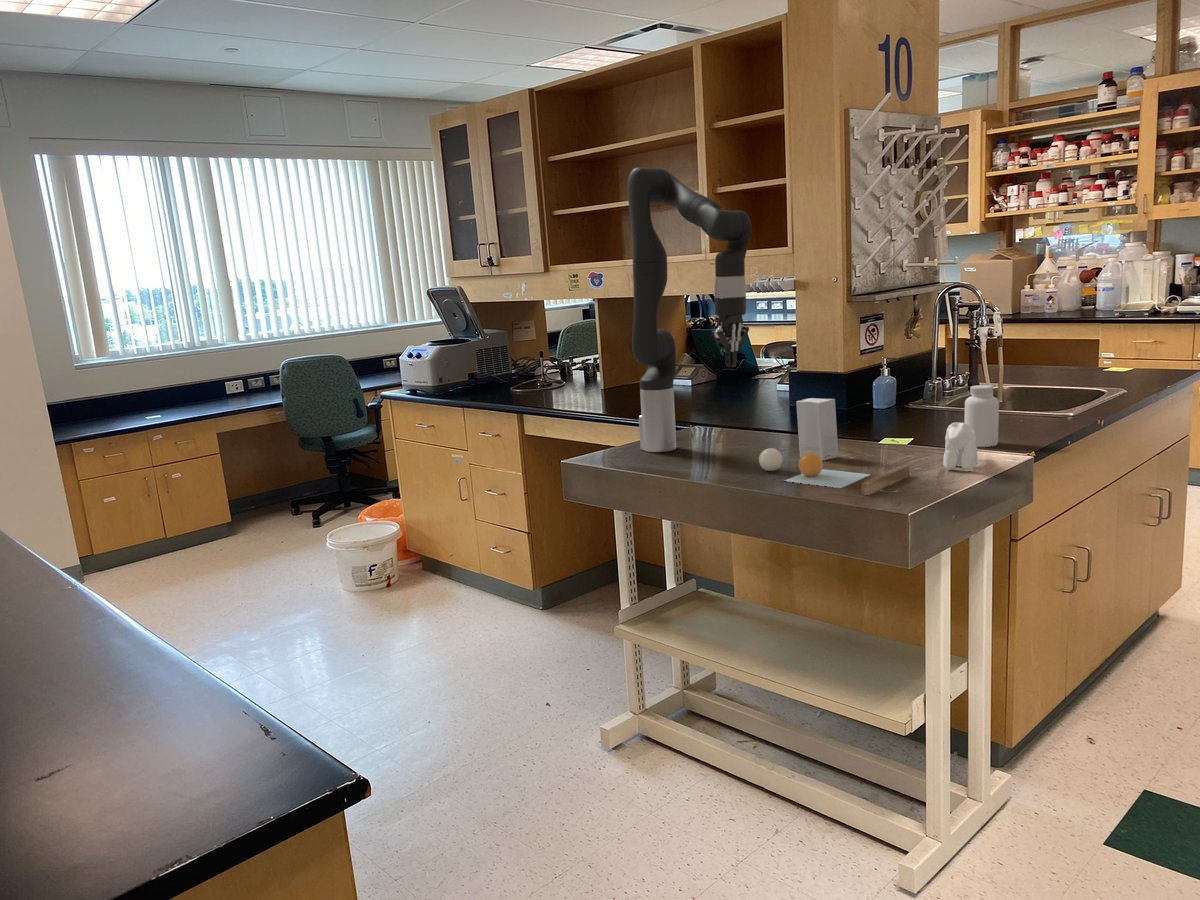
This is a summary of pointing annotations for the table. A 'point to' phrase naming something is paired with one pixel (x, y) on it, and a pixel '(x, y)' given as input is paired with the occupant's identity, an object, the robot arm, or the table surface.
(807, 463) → the object ball
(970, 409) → the pill bottle
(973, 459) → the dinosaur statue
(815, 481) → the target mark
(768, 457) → the cue ball
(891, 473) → the stopper bar
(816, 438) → the skincare box
